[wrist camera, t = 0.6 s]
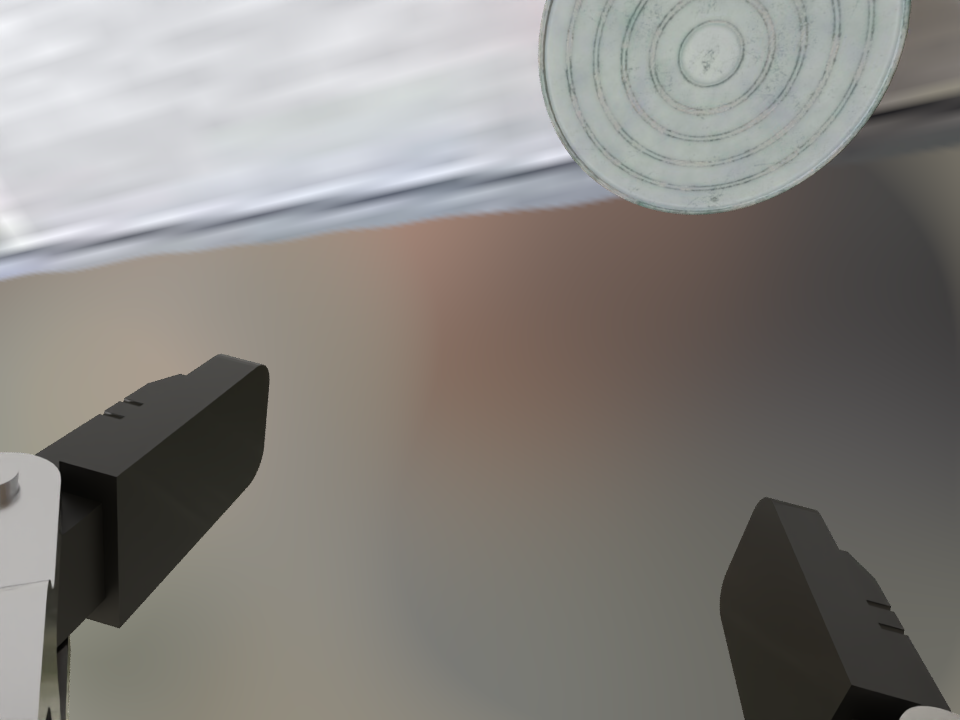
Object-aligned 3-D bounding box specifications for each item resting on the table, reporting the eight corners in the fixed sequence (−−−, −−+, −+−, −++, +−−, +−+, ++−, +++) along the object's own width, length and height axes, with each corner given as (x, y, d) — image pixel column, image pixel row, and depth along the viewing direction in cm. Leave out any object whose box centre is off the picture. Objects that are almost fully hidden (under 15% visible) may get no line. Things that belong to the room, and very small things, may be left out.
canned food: (852, 53, 31) (932, 148, 22) (619, 144, 36) (605, 252, 27) (802, -233, 26) (881, -267, 16) (536, -81, 30) (482, -41, 21)
